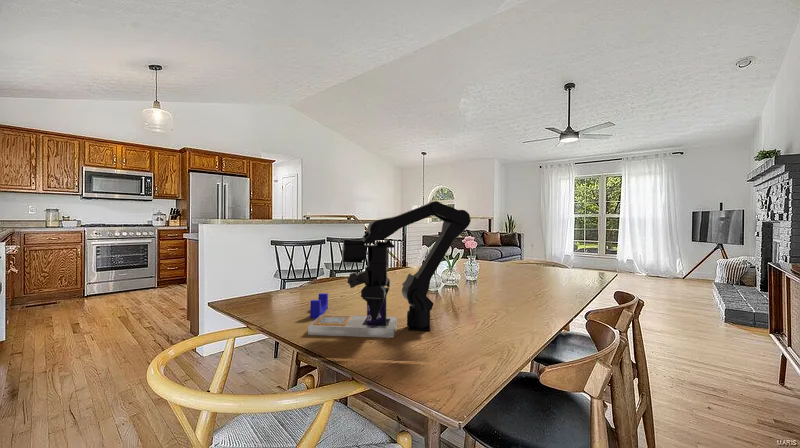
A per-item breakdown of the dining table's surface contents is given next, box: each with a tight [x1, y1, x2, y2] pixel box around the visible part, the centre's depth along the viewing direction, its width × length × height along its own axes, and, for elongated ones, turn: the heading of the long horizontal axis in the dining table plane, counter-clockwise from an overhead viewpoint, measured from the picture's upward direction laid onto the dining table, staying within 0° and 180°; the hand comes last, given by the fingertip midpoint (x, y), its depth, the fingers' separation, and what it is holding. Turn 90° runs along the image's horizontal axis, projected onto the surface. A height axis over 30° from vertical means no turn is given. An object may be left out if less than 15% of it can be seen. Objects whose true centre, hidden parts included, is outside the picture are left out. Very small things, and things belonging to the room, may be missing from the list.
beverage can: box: [366, 292, 387, 326], centre depth 101 cm, size 6×6×12 cm
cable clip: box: [309, 293, 329, 319], centre depth 119 cm, size 12×4×6 cm, turn 179°
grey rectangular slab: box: [307, 314, 398, 339], centre depth 102 cm, size 24×12×3 cm, turn 86°
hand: (376, 316), depth 101 cm, fingers open, 9 cm apart
